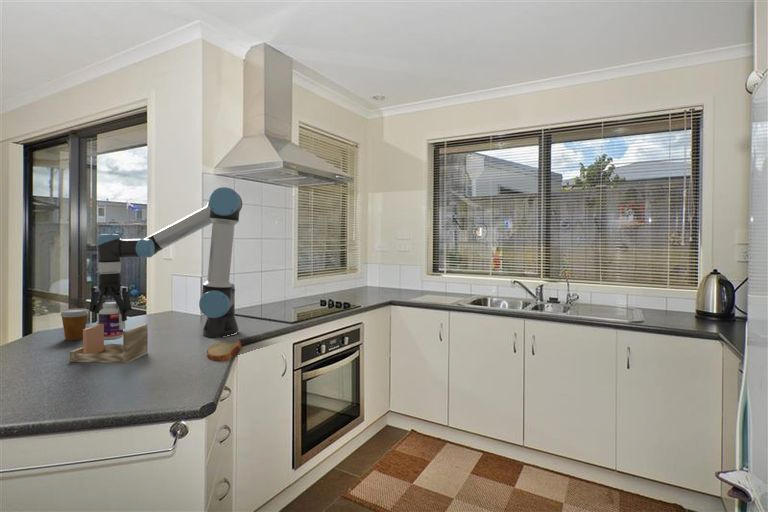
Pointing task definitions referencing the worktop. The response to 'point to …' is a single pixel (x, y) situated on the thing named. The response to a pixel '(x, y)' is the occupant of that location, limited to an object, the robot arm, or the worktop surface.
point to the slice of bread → (223, 351)
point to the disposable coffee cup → (74, 323)
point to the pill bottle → (110, 321)
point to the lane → (118, 348)
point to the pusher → (93, 339)
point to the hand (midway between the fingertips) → (111, 329)
